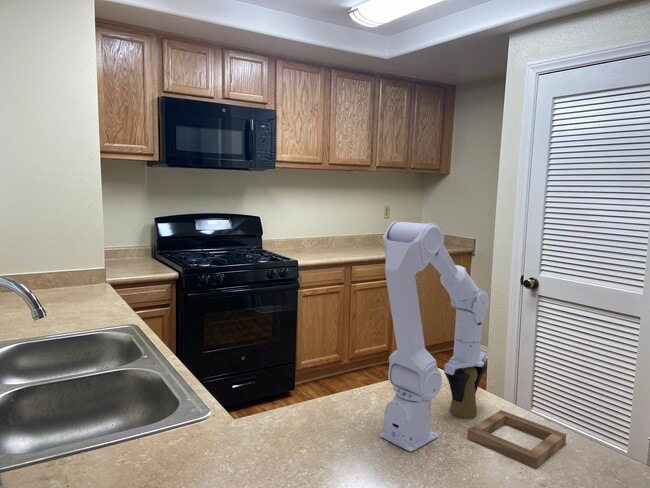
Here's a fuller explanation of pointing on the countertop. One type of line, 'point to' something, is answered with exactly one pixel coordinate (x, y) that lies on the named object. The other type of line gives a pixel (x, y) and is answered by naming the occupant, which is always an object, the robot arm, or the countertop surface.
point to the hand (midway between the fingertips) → (463, 397)
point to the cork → (466, 398)
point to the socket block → (529, 457)
